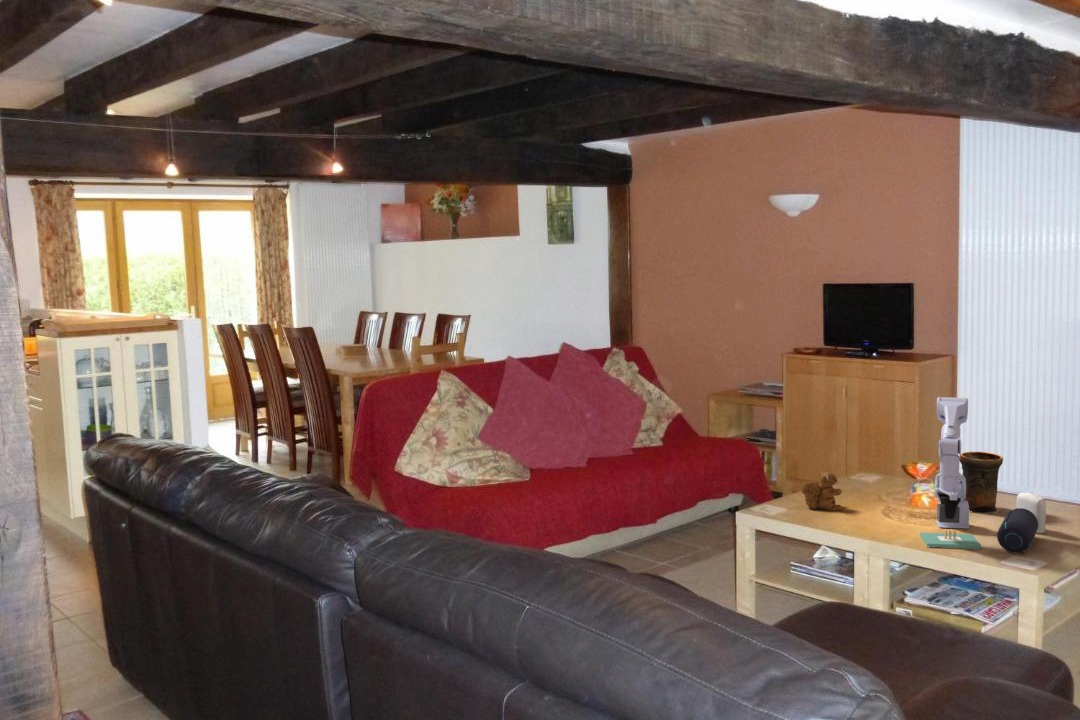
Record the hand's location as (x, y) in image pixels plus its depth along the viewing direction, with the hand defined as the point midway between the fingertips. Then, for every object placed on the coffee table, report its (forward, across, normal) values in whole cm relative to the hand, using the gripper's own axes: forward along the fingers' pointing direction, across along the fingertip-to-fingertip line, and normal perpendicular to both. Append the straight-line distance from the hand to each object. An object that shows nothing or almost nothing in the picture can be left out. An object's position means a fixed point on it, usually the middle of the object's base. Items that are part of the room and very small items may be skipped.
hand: (948, 516), depth 304 cm
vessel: (+9, -43, +19) cm, 48 cm away
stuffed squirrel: (+9, -38, -36) cm, 53 cm away
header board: (+8, 0, +1) cm, 8 cm away
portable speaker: (+9, 0, +21) cm, 23 cm away
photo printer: (+9, -18, +30) cm, 36 cm away
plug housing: (+1, 0, 0) cm, 1 cm away
